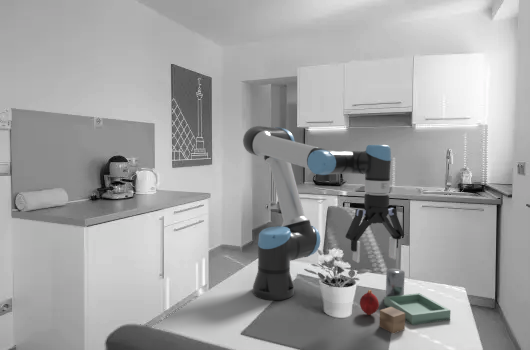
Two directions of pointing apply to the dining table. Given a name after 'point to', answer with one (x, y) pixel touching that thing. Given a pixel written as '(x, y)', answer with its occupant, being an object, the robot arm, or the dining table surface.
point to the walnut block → (392, 320)
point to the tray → (418, 308)
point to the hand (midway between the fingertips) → (374, 259)
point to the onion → (369, 303)
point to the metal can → (394, 282)
